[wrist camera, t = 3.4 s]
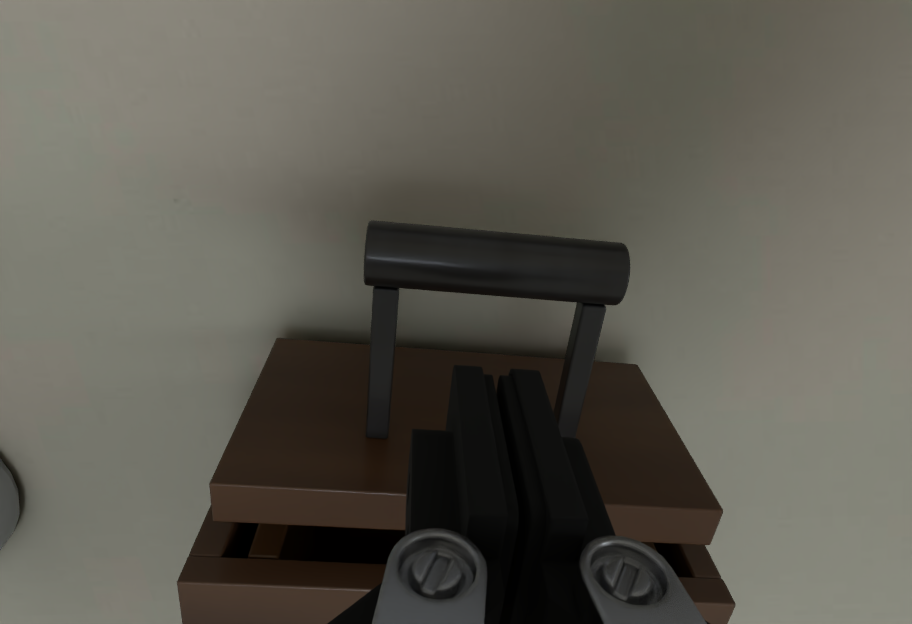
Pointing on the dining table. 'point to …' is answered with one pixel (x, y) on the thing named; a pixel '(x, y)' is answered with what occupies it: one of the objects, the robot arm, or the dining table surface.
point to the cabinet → (348, 581)
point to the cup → (7, 504)
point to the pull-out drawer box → (446, 404)
